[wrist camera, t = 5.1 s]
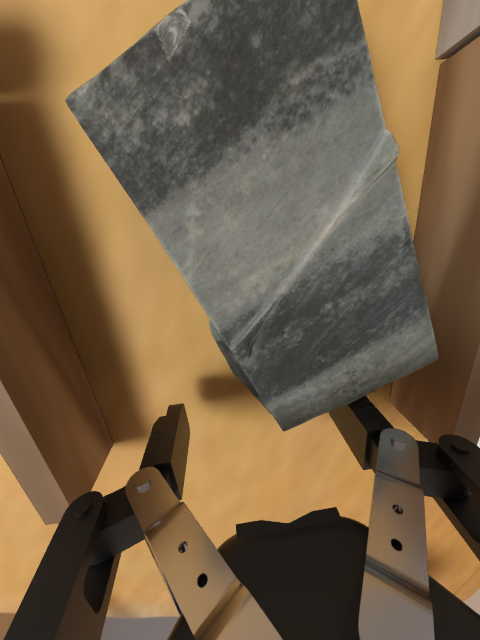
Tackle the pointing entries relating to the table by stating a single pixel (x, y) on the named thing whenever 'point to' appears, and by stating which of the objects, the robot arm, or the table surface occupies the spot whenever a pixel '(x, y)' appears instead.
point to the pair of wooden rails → (407, 392)
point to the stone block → (271, 193)
